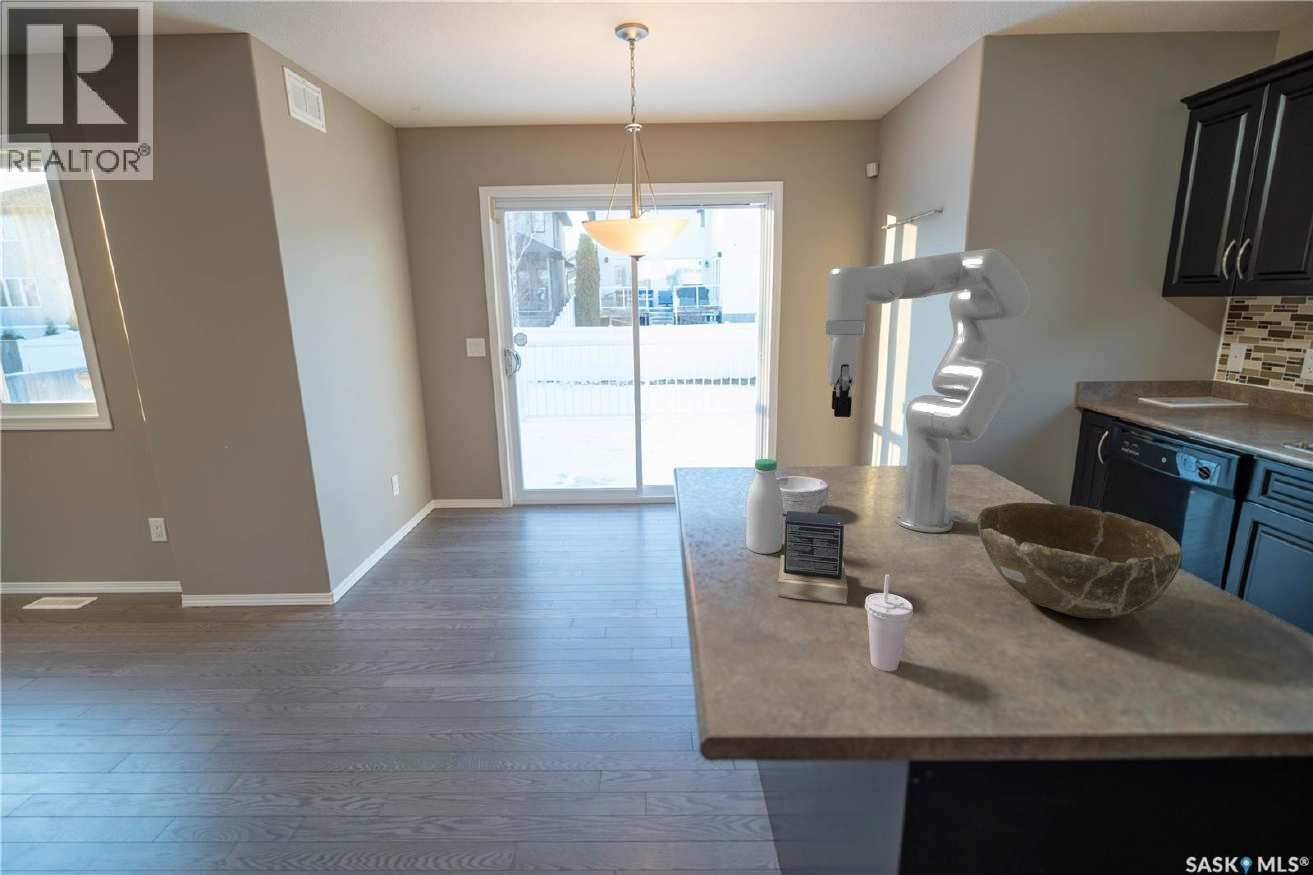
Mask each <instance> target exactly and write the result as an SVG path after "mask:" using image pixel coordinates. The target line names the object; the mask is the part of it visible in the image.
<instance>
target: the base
mask: <svg viewBox="0 0 1313 875" xmlns="http://www.w3.org/2000/svg"><path fill="white" fill-rule="evenodd" d="M779 559H780V560H779V570H778V580H777V585H778V586H777V597H778V598H779V597H780V598H785V599H787V598H789V599H795V600H796V599H797V600H798V599H799V600H804V601H805V600H806V601H815V602H827V603H834V604H845V605H847V604H848V590H849V588H848V581H847V576H846V569H845V564H844V560H843V561H842V578H841V579H835V578H827V577H818V576H809V575H800V574H791V573H784V572H783V570H784V554H780V558H779Z"/></svg>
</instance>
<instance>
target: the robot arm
mask: <svg viewBox="0 0 1313 875" xmlns="http://www.w3.org/2000/svg"><path fill="white" fill-rule="evenodd" d="M949 293H952V294H951V296H950V299H949V303H948V304H949V313H950V317H951V321H952V327H953V328H952V329H953V336H952V340H951V341H950V344H949V347H947V349H946V351H945V353H944V355H943V357H942V359H941V361H940V362H939V364H938V365H937V368H936V370H935V371H934V373H933V376H932V379H931V386H932V388H933V390H934V392H936V393H938V394H939V395H936V394H925V395H919V396H917V397H915V398H913V399H912V400H911V401H910V402H909V403H908V405H907V408H906V410H905V424H906V430H907V456H906V468H905V480H904V483H905V484H904V491H903V494H904V495H903V505H902V511H901V512H898V513H897V514H896V515H895V522H896V523H897V524H898V525H900V526H901V527H904V528H906V529H909V530H911V531H912V530H913V531H916V532H923V533H934V534H935V533H945V532H948V531H950V530H952V528H953V522H954V521H960V522H961V521H962V522H969V519H970V518H969V513H968V512H961V511H960V510H959V509H953V510H952V509H950V508H949V507H948V498H949V489H950V478H951V470H952V469H951V467H952V451H951V447H950V444H949V442H948V440H950V441H955V442H961V443H974V442H976V441H978V440H979V439H980V438H982V437H983V435H984V434H985V432H986V431H987V430H988V428H989V426H990V424H991V423H992V420H993V418H994V417H995V415H996V413H997V412H998V409H999V408H1000V405H1001V404H1002V402H1003V399H1005V396H1006V394H1007V392H1008V388H1009V384H1010V377H1011V376H1010V371H1009V368H1008V366H1007V365H1006V364H1005V363H1004V362H1003V361H1001V360H999V359H994V358H989V357H988V356H989V353H991V349H992V340H991V337H990V335H989V333H988V331H987V329H986V327H985V326H984V325H985V324H984V323H983V321H986V322H987V321H1014V320H1017V319H1019V318H1021V317H1022V316H1024V314H1026V312H1027V311H1028V309H1029V307H1030V303H1031V292H1030V290H1029V287H1028V284H1027V283H1026V282H1025V280H1024V279H1023V277H1022V276H1021V275H1020V273H1019V272H1018V271H1017V269H1016V267H1015V266H1014V265H1013V263H1012V262H1011V260H1009V258H1008V257H1007V256H1006V255H1005V254H1004V253H1002V252H1001V251H999V250H998V249H994V248H984V249H983V248H982V249H976V250H975V249H974V250H967V251H959V252H950V253H949V252H948V253H944V254H936V255H929V256H922V257H921V256H919V257H915V258H910V259H904V260H900V261H895V262H891V263H885V264H881V265H880V264H879V265H873V266H866V267H865V266H862V265H844V266H836V267H833V268H832V269H830V271H829V273H828V278H827V299H826V317H825V318H826V319H825V338H830V343H829V350H828V351H829V352H828V365H827V366H828V367H827V368H828V370H827V383H828V385H829V387H833V390H832V394H831V409H832V410H833V416H834V417H836V418H851V416H852V400H853V397H852V387H853V386H854V385H855V380H856V374H857V373H856V372H857V363H858V361H857V360H858V349H859V348H858V345H859V338H864V337H865V332H866V316H867V315H866V314H867V305H885V304H889V303H892V302H894V301H896V300H911V299H912V300H913V299H923V298H927V297H931V296H932V297H933V296H937V295H941V294H942V295H943V294H949Z"/></svg>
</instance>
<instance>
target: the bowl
mask: <svg viewBox="0 0 1313 875" xmlns="http://www.w3.org/2000/svg"><path fill="white" fill-rule="evenodd" d="M976 519H977V520H976V521H977V528H978V533H979V536H980V540H981V543H982V544H983V546H984V549H985V551H986V553H987V556H988V557H989V559H990V561H991V563H992V564H993V566H994V568H995V569H996V571H997V572H998V573H999V575H1000V576H1001V577H1002V578H1003V579H1004V581H1005V582H1007V584H1008V585H1010V586H1011V587H1012V588H1013V589H1014V590H1015V591H1016V592H1017V593H1019V594H1020V596H1021V595H1022V596H1023V597H1024V598H1026V599H1028V600H1029V601H1030V602H1032V603H1034V604H1036V605H1038V606H1041V607H1043V608H1045V607H1046V608H1048V609H1049V610H1053V611H1055V612H1058V613H1061V614H1064V615H1067V616H1071V617H1076V618H1081V619H1095V620H1096V619H1098V620H1099V619H1111V618H1116V617H1117V618H1118V617H1123V616H1124V617H1125V616H1128V615H1132V614H1135V613H1138V612H1141V611H1143V610H1145V609H1146V608H1148V607H1149V606H1151V605H1153V604H1154V603H1155V602H1156V601H1158V600H1159V598H1160V597H1162V595H1163V594H1164V593H1165V591H1166V590H1167V589H1168V587H1169V586H1170V585H1171V583H1172V582H1173V581H1174V579H1175V577H1176V575H1177V574H1178V571H1179V569H1180V566H1181V563H1182V560H1183V555H1184V552H1183V549H1182V547H1181V546H1180V544H1179V542H1178V541H1177V540H1175V539H1174V537H1173V536H1171V535H1170V534H1169V533H1168V532H1166V531H1165V530H1164V529H1163V528H1160V527H1158V526H1155V525H1154V524H1150V523H1147V522H1144V521H1143V522H1142V521H1140V520H1137V519H1136V518H1135V519H1134V518H1132V517H1128V516H1126V515H1122V514H1120V513H1116V512H1115V513H1114V512H1110V511H1105V512H1103V511H1101V510H1100V509H1095V508H1094V509H1093V508H1089V507H1087V506H1086V507H1085V506H1080V505H1072V504H1061V503H1046V502H1044V503H1043V502H1010V503H1005V504H1003V503H1002V504H998V505H993V506H989V507H988V506H987V507H984V508H983V509H981V510H980V511H979V513H978V514H977V517H976Z"/></svg>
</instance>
